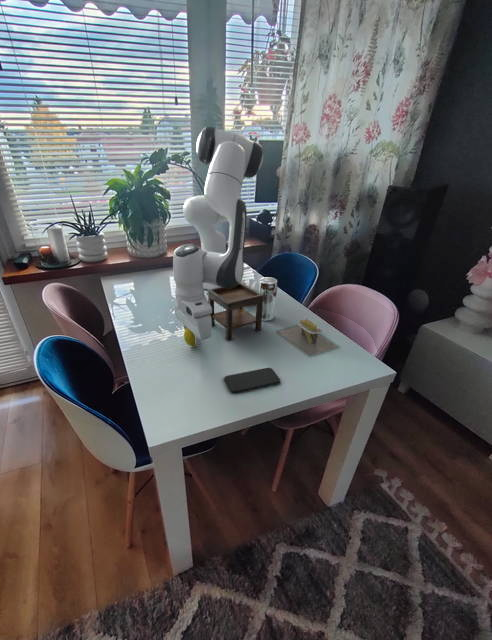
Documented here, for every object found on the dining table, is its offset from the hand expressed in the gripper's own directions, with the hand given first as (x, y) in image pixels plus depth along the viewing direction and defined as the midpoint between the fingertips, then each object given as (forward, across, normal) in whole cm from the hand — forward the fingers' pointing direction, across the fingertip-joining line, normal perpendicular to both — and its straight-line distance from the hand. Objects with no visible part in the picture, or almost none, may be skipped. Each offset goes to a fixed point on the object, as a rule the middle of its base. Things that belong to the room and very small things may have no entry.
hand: (192, 339), depth 108 cm
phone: (+3, +26, +6) cm, 27 cm away
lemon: (+3, 0, 0) cm, 3 cm away
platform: (+3, +16, +36) cm, 40 cm away
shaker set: (+3, -19, +34) cm, 39 cm away
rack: (+3, -4, +19) cm, 20 cm away
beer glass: (+3, -5, +34) cm, 34 cm away
